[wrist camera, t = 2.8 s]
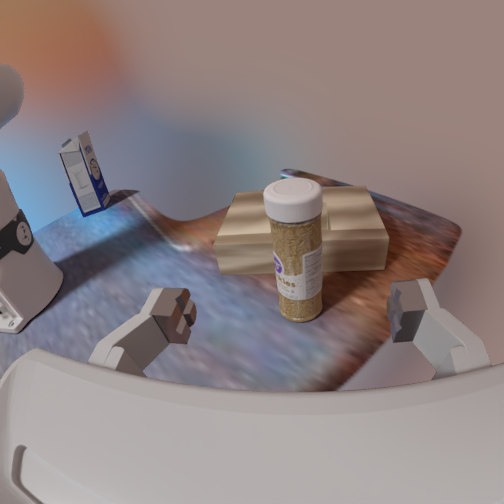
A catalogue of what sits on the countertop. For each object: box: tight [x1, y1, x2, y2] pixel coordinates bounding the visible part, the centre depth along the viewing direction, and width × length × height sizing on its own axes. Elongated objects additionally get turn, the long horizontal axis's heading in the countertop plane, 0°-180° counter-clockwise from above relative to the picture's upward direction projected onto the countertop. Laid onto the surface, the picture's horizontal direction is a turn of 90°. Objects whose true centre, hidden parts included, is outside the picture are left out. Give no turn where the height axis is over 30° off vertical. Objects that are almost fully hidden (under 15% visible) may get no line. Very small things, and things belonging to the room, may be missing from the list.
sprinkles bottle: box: [263, 178, 323, 322], centre depth 25 cm, size 5×5×14 cm
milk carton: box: [58, 131, 111, 217], centre depth 58 cm, size 7×7×20 cm
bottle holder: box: [213, 186, 389, 275], centre depth 37 cm, size 14×20×4 cm
